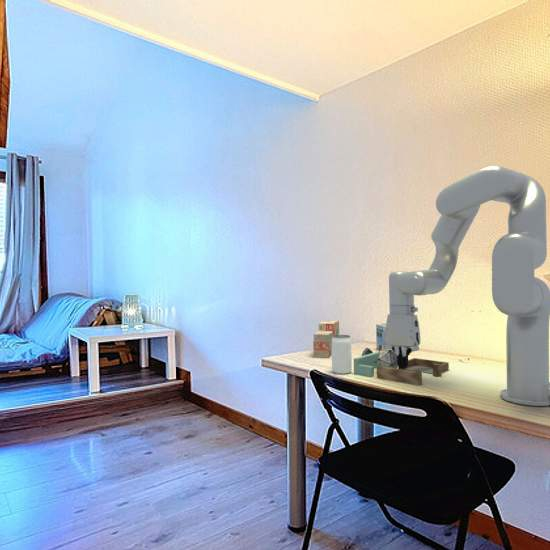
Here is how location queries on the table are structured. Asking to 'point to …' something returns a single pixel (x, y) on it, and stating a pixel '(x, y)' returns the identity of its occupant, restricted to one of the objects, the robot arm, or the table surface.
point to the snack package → (367, 352)
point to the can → (341, 354)
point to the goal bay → (366, 364)
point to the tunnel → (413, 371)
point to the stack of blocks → (325, 338)
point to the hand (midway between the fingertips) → (402, 367)
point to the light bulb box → (381, 336)
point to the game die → (387, 358)
